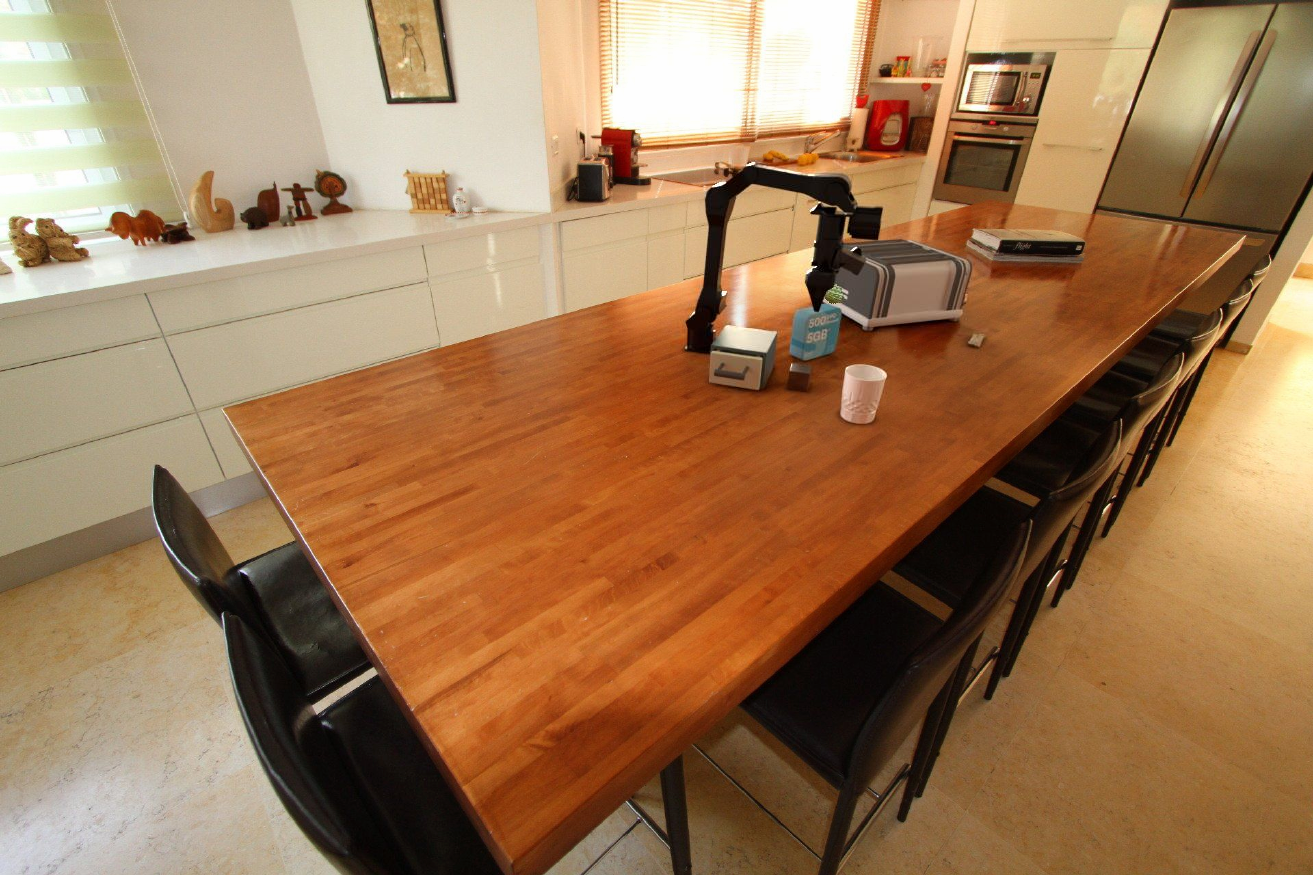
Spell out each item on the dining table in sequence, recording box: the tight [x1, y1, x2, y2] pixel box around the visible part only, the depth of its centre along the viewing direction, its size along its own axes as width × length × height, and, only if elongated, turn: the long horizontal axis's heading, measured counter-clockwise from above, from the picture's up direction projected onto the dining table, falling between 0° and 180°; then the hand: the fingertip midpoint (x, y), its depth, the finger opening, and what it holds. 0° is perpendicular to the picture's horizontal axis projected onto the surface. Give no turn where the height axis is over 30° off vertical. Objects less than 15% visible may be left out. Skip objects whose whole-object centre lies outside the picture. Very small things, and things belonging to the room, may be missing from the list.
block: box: [786, 362, 813, 393], centre depth 133 cm, size 4×4×4 cm
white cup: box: [839, 364, 888, 425], centre depth 120 cm, size 8×8×10 cm
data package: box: [789, 302, 843, 362], centre depth 147 cm, size 12×4×12 cm, turn 122°
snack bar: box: [967, 333, 986, 348], centre depth 157 cm, size 10×2×3 cm
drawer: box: [708, 349, 763, 391], centre depth 133 cm, size 18×11×7 cm, turn 160°
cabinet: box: [708, 324, 779, 391], centre depth 137 cm, size 14×12×9 cm
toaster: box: [822, 238, 973, 332], centre depth 176 cm, size 31×36×18 cm
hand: (819, 305), depth 138 cm, fingers open, 9 cm apart
